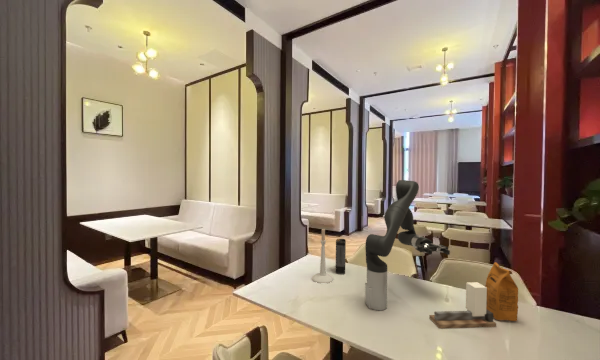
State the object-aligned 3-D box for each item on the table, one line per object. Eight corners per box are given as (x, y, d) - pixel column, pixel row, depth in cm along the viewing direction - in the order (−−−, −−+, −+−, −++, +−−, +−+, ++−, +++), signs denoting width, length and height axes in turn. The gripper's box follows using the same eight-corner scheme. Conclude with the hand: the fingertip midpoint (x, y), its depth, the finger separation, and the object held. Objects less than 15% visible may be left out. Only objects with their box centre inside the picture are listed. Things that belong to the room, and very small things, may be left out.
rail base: (439, 328, 101) (439, 316, 100) (429, 318, 108) (429, 306, 107) (496, 326, 102) (496, 314, 102) (482, 317, 109) (483, 305, 109)
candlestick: (335, 283, 141) (335, 231, 141) (312, 283, 141) (312, 230, 141) (332, 274, 154) (332, 226, 154) (311, 274, 154) (312, 226, 154)
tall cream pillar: (474, 317, 102) (475, 287, 102) (465, 310, 107) (466, 282, 107) (486, 317, 103) (486, 287, 102) (476, 310, 108) (477, 282, 107)
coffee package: (504, 309, 116) (506, 262, 115) (521, 324, 104) (522, 272, 103) (480, 306, 118) (481, 260, 118) (493, 321, 106) (494, 269, 106)
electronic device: (345, 274, 154) (345, 242, 154) (335, 273, 155) (335, 242, 155) (345, 269, 163) (345, 238, 163) (336, 268, 165) (336, 238, 164)
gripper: (409, 236, 134) (425, 244, 118) (434, 237, 135) (454, 244, 118) (408, 250, 134) (425, 260, 118) (434, 250, 135) (454, 260, 118)
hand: (440, 252), depth 118 cm, fingers open, 8 cm apart
